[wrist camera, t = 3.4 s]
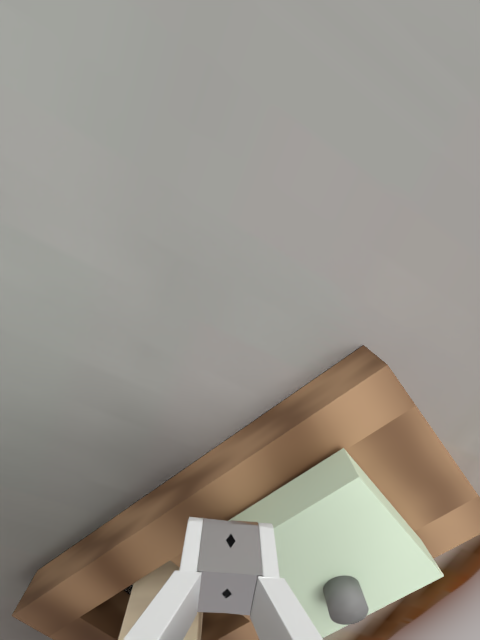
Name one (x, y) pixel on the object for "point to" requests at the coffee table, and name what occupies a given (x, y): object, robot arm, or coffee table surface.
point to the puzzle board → (261, 497)
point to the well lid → (342, 544)
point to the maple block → (145, 594)
